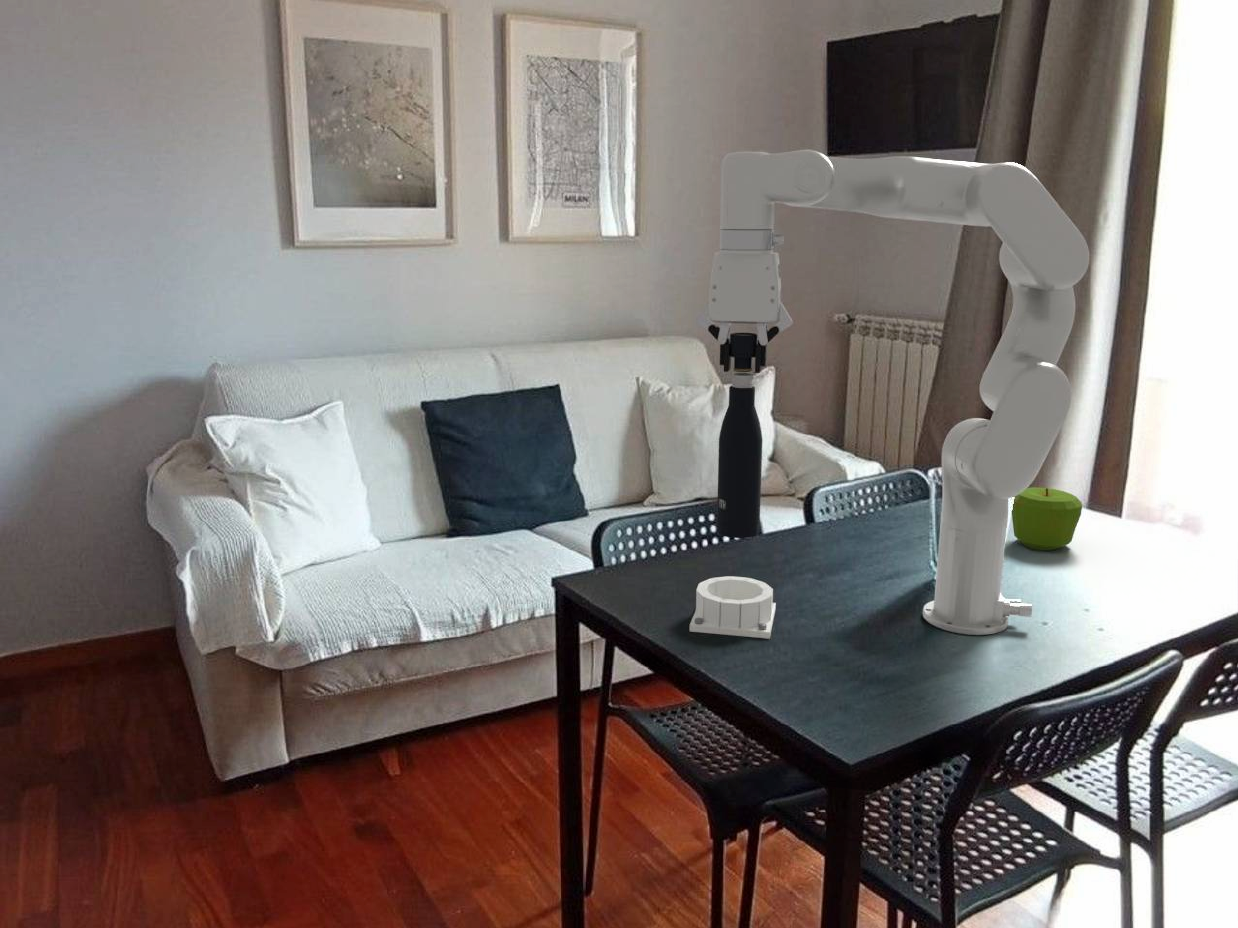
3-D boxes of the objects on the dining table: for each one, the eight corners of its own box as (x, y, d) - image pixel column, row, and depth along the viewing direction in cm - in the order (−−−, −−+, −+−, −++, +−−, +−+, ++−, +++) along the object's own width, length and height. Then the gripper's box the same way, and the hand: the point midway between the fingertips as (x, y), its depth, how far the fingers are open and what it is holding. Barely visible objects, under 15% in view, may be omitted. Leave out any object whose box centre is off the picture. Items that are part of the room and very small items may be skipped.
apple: (1088, 556, 190) (1095, 497, 187) (1021, 555, 190) (1027, 496, 187) (1060, 535, 202) (1066, 479, 199) (998, 534, 202) (1003, 479, 199)
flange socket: (775, 608, 164) (776, 579, 163) (769, 638, 153) (770, 607, 152) (700, 602, 167) (701, 573, 166) (689, 631, 155) (690, 600, 154)
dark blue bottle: (764, 528, 158) (771, 332, 151) (751, 540, 152) (758, 337, 145) (724, 523, 160) (729, 330, 153) (710, 535, 155) (715, 335, 147)
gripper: (807, 242, 148) (801, 369, 152) (691, 241, 151) (689, 365, 156) (804, 244, 141) (799, 377, 145) (683, 243, 144) (682, 373, 149)
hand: (742, 369), depth 150 cm, fingers closed on dark blue bottle, 3 cm apart
